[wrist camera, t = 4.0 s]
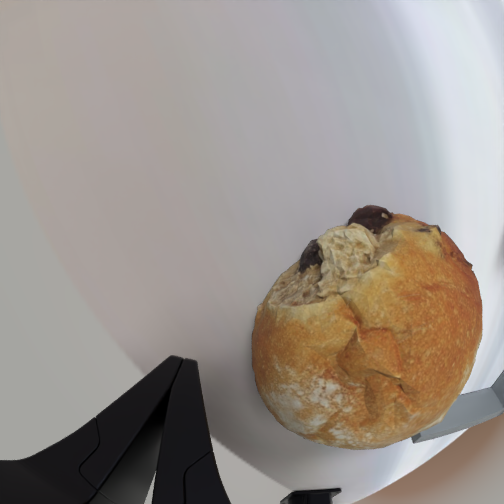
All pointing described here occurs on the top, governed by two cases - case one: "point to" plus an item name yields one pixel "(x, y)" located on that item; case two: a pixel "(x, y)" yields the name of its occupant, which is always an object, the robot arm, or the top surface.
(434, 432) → the grey u-shaped frame
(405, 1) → the top surface
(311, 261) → the bread roll
